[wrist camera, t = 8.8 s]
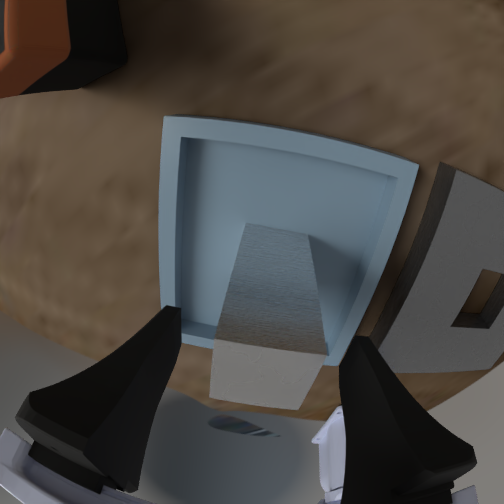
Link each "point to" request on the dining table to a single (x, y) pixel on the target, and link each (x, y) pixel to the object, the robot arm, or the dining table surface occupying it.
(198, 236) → the tray
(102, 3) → the battery
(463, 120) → the dining table surface
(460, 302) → the pin plate
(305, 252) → the pin
